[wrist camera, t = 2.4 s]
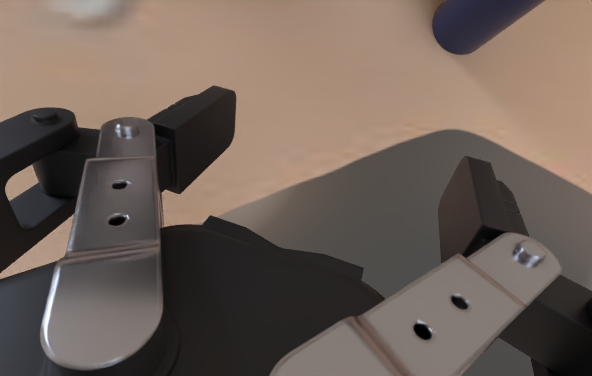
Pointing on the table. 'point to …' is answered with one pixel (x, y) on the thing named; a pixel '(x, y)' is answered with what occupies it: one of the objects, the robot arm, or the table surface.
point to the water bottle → (476, 21)
